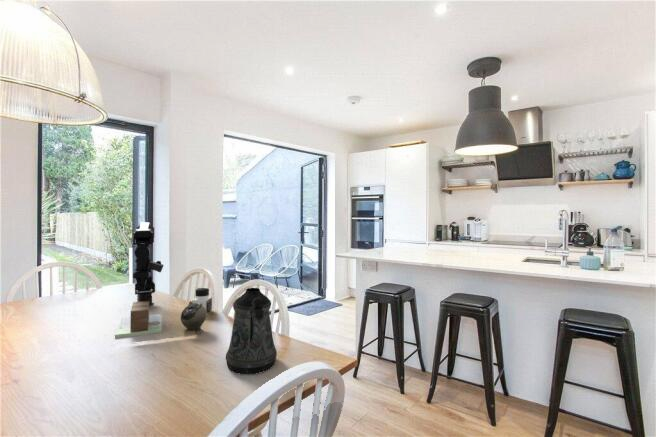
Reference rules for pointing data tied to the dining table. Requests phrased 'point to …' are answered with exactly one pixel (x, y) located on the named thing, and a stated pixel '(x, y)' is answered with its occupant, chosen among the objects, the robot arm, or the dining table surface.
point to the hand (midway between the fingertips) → (142, 290)
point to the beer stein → (251, 335)
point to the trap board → (151, 330)
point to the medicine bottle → (203, 298)
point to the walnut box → (140, 316)
